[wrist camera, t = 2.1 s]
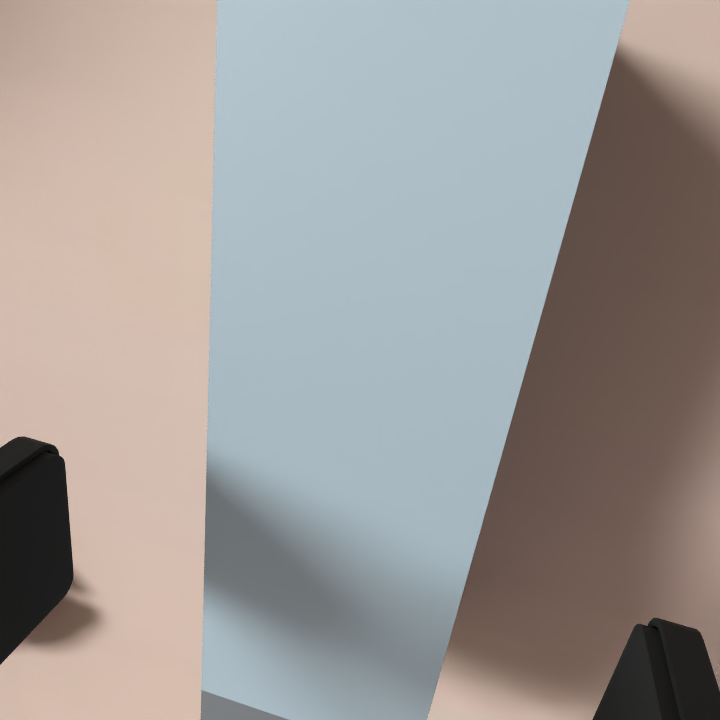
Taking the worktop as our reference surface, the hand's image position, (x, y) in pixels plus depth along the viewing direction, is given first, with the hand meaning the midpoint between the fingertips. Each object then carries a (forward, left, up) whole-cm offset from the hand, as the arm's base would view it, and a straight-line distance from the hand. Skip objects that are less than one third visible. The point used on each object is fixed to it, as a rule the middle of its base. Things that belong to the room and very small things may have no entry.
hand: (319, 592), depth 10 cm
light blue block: (-1, 0, -8) cm, 8 cm away
